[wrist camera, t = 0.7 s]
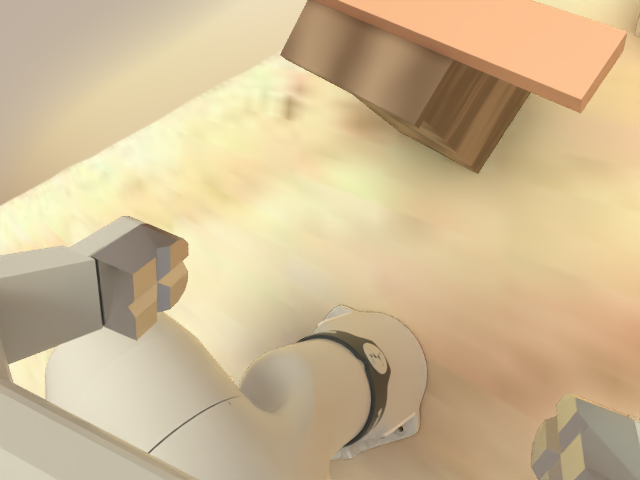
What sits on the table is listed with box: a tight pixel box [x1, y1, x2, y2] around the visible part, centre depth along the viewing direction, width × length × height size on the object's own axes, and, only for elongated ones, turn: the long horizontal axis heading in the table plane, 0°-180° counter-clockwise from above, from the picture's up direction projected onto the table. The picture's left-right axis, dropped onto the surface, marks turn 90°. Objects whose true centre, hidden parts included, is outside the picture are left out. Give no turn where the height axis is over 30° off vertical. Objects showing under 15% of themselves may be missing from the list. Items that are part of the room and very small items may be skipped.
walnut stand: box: [280, 0, 530, 173], centre depth 45 cm, size 14×14×26 cm
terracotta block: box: [314, 0, 627, 113], centre depth 31 cm, size 23×4×2 cm, turn 56°
